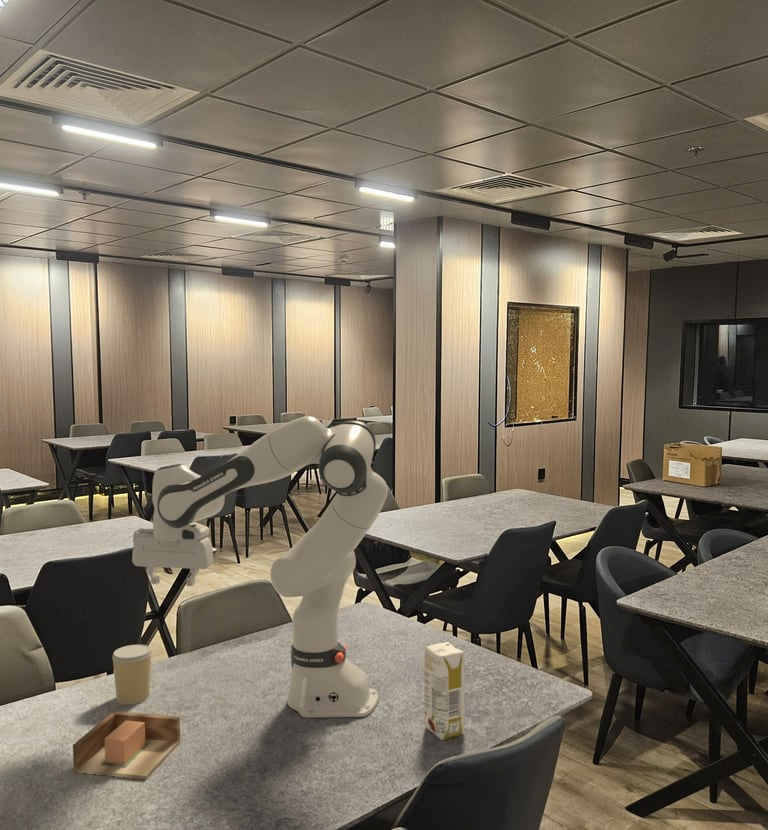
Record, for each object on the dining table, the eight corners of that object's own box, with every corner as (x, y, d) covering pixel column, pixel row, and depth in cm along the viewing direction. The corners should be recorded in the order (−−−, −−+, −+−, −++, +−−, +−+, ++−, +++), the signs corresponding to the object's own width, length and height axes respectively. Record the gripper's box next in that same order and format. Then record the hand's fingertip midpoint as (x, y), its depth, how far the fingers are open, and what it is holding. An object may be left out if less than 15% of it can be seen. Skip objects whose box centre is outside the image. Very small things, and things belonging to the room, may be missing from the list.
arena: (180, 742, 160) (179, 716, 159) (146, 779, 145) (145, 751, 145) (113, 736, 162) (113, 711, 162) (73, 772, 148) (72, 744, 147)
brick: (124, 764, 149) (124, 740, 149) (105, 762, 150) (104, 738, 150) (145, 744, 157) (144, 722, 156) (126, 742, 158) (126, 720, 157)
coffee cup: (160, 692, 185) (159, 646, 184) (136, 708, 176) (135, 660, 176) (130, 687, 188) (128, 642, 187) (105, 703, 179) (103, 655, 179)
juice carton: (440, 743, 158) (440, 658, 157) (420, 726, 166) (420, 645, 165) (469, 735, 162) (469, 652, 161) (448, 719, 170) (448, 639, 169)
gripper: (126, 530, 178) (127, 586, 178) (204, 533, 174) (205, 590, 175) (139, 525, 184) (140, 579, 185) (215, 528, 180) (216, 582, 181)
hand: (173, 584), depth 180 cm, fingers open, 8 cm apart
